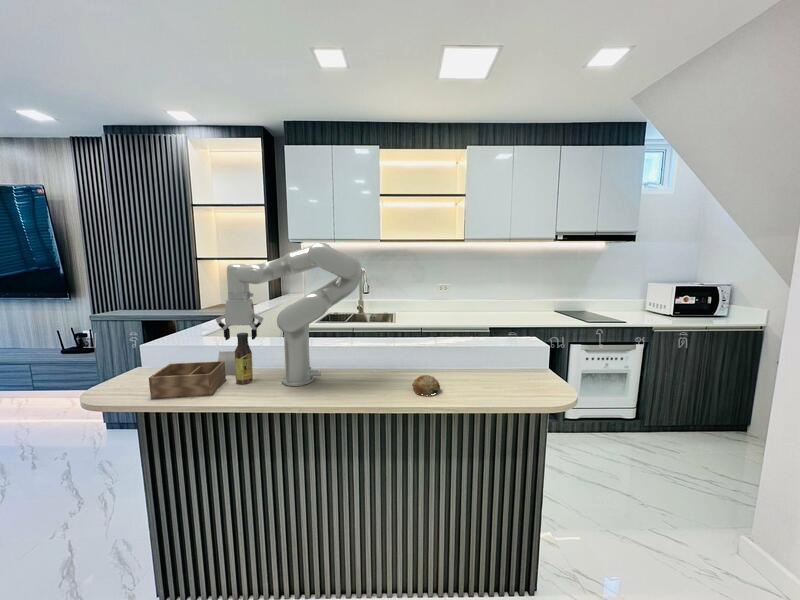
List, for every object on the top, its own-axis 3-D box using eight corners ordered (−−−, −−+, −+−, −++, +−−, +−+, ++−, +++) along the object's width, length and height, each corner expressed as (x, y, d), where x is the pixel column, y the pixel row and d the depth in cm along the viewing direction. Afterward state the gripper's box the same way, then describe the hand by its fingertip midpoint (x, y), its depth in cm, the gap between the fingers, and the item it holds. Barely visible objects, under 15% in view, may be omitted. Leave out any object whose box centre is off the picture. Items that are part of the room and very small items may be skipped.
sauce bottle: (246, 385, 130) (243, 336, 128) (232, 384, 132) (229, 335, 129) (256, 379, 137) (254, 332, 134) (243, 378, 138) (240, 331, 135)
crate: (226, 380, 136) (224, 361, 135) (212, 395, 121) (210, 374, 120) (172, 382, 132) (170, 363, 131) (150, 399, 118) (148, 377, 117)
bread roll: (423, 407, 121) (431, 391, 118) (405, 388, 127) (412, 372, 124) (439, 398, 129) (447, 383, 125) (421, 381, 134) (428, 366, 131)
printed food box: (235, 375, 141) (233, 352, 139) (218, 375, 140) (217, 352, 139) (238, 372, 145) (237, 350, 143) (222, 372, 144) (221, 350, 143)
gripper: (264, 294, 134) (265, 336, 137) (218, 294, 131) (220, 337, 134) (260, 297, 127) (261, 341, 129) (211, 297, 124) (213, 342, 126)
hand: (240, 339), depth 132 cm, fingers open, 9 cm apart
